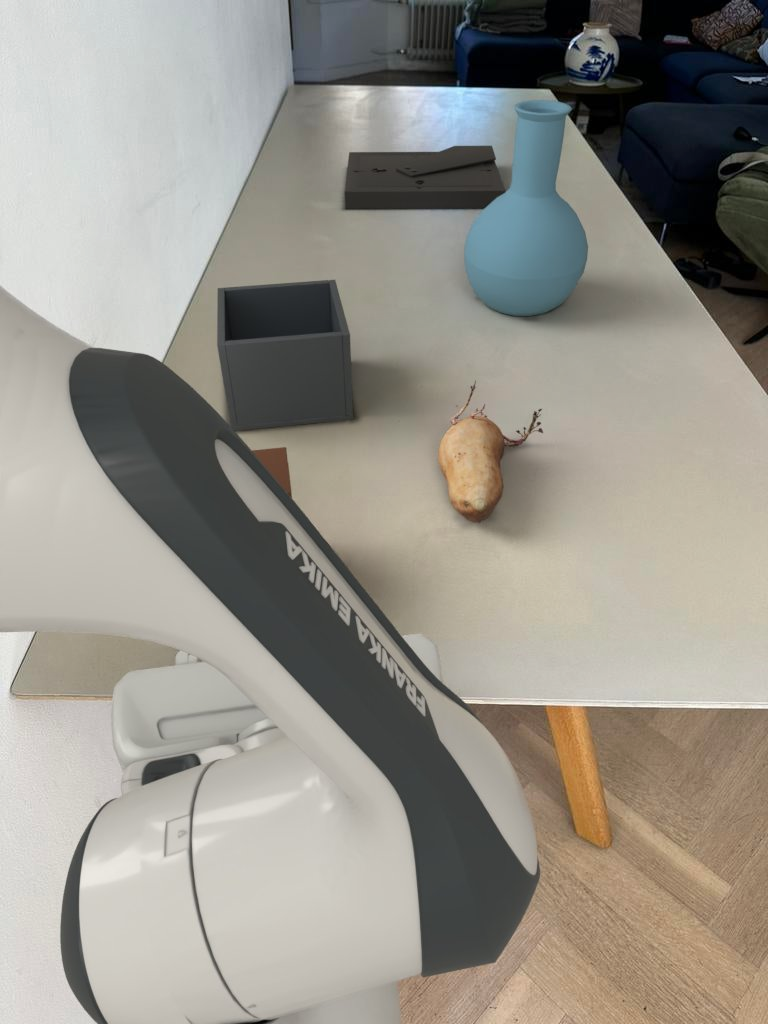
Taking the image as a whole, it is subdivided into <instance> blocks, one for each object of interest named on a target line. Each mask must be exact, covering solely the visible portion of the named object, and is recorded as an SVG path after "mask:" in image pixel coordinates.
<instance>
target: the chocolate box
mask: <svg viewBox="0 0 768 1024" xmlns="http://www.w3.org/2000/svg"><path fill="white" fill-rule="evenodd" d="M251 450H252V449H251ZM252 452H253V453H254V454H255V455H256V456H257V457H258V459H259V460H260V461H261V462H262V463H263V464H264V466H265V467H266V468H267V469H268V470H269V471H270V473H271V474H272V475H273V476H274V477H275V479H276V480H277V481H278V482H279V483H280V485H281V486H282V487H283V488H284V489H285V491H286V492H287V493H288V494H289V495H290V497H291V498H292V499H293V493H292V492H293V491H292V484H291V475H290V466H289V460H288V451H287V447H286V446H284V447H282V446H281V447H274V448H264V449H263V448H262V449H253V450H252Z"/></svg>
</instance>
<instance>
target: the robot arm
mask: <svg viewBox="0 0 768 1024" xmlns="http://www.w3.org/2000/svg"><path fill="white" fill-rule="evenodd" d="M26 632H27V633H30V632H31V633H32V632H34V633H36V632H39V633H40V632H41V633H71V634H73V633H74V634H93V635H105V636H113V637H122V638H123V637H124V638H130V639H135V640H139V641H145V642H150V643H155V644H158V645H161V646H165V647H168V648H172V649H175V650H178V651H177V652H176V655H175V660H174V661H175V662H174V665H167V666H159V667H152V668H144V669H135V670H131V671H128V672H127V673H126V674H125V675H123V677H122V678H120V680H119V681H118V682H117V683H116V684H115V685H114V687H113V692H112V696H111V697H112V698H111V713H110V715H111V718H110V719H111V721H110V722H111V723H110V724H111V725H110V726H111V737H112V738H111V740H112V746H113V751H114V754H115V756H116V758H117V761H118V763H119V766H120V768H121V771H122V777H121V782H120V793H121V796H119V797H115V798H112V799H109V800H108V801H106V802H105V803H104V804H103V805H102V806H101V807H100V808H98V810H97V811H96V813H95V814H94V815H93V817H92V819H90V821H89V822H88V824H87V826H86V827H85V829H84V831H83V833H82V835H81V836H80V839H79V841H78V843H77V845H76V847H75V850H74V852H73V855H72V858H71V861H70V864H69V867H68V871H67V875H66V879H65V885H64V889H63V894H62V902H61V913H60V927H59V928H60V929H59V930H60V931H59V932H60V933H59V937H60V938H59V939H60V941H59V942H60V955H61V962H62V966H63V971H64V975H65V979H66V981H67V983H68V987H69V988H70V991H72V993H73V995H74V997H75V998H76V1000H77V1001H78V1003H79V1004H80V1005H81V1007H82V1009H83V1010H84V1011H85V1012H86V1013H87V1015H88V1016H89V1017H90V1018H91V1019H92V1020H93V1021H94V1022H95V1023H96V1024H403V1022H402V1011H401V998H400V997H401V996H400V986H399V981H402V980H406V979H409V978H412V977H415V976H418V975H420V976H421V977H422V978H423V979H424V978H428V977H432V976H438V975H442V974H447V973H452V972H457V971H462V970H466V969H471V968H476V967H480V966H486V965H491V964H495V963H496V962H497V961H498V959H499V958H500V956H501V955H502V953H503V952H504V951H505V949H506V947H507V946H508V944H509V942H510V941H511V939H512V937H513V936H514V934H515V933H516V931H517V929H518V927H519V926H520V925H521V922H522V920H523V918H524V917H525V915H526V912H527V910H528V908H529V906H530V904H531V902H532V899H533V896H534V894H535V893H536V889H537V887H538V885H539V882H540V879H541V867H540V862H539V857H538V856H539V855H538V843H537V841H538V840H537V835H536V829H535V828H536V827H535V824H534V818H533V816H532V812H531V809H530V805H529V802H528V799H527V796H526V793H525V791H524V788H523V785H522V784H521V780H520V778H519V776H518V774H517V771H516V770H515V768H514V766H513V764H512V762H511V760H510V759H509V757H508V755H507V753H506V752H505V750H504V749H503V747H502V746H501V745H500V743H499V742H498V741H497V739H496V738H495V736H494V735H493V734H492V733H491V732H490V731H489V730H488V729H487V727H486V726H485V725H484V724H483V723H482V721H481V720H480V718H479V716H478V715H477V714H476V713H475V711H473V709H472V708H471V707H470V706H469V705H468V704H467V703H466V702H465V701H464V700H463V699H462V698H460V697H459V696H458V694H456V693H455V692H453V690H451V689H450V688H449V687H448V686H446V684H444V677H443V669H442V662H441V656H440V652H439V647H438V645H437V643H436V642H435V641H434V640H432V639H431V638H429V637H428V636H426V635H425V634H424V633H410V634H402V635H401V633H400V632H399V631H398V630H397V628H396V627H395V626H394V625H393V623H392V622H391V621H390V619H389V618H388V617H387V615H385V613H384V612H383V610H382V609H381V608H380V607H379V606H378V604H377V603H376V601H375V600H374V599H373V598H372V596H371V595H370V594H369V593H368V591H367V590H366V589H365V587H363V585H362V584H361V583H360V581H359V580H358V578H356V577H355V575H354V574H353V573H352V572H351V570H350V569H349V568H348V566H347V565H346V564H345V563H344V561H343V560H342V559H341V558H340V556H339V555H338V554H337V553H336V551H335V550H334V549H333V547H332V546H331V545H330V543H328V541H327V540H326V539H325V537H324V536H323V535H322V533H321V532H319V530H318V529H317V528H316V526H315V525H314V524H313V523H312V521H311V520H310V519H309V518H308V516H307V515H306V513H305V512H304V511H303V510H302V509H301V507H300V506H299V505H298V504H297V503H296V501H295V500H294V499H293V497H292V498H291V497H290V495H289V494H288V493H287V492H286V491H285V489H284V488H283V487H282V486H281V485H280V483H279V482H278V481H277V480H276V479H275V477H274V476H273V475H272V474H271V473H270V471H269V470H268V469H267V468H266V467H265V466H264V464H263V463H262V462H261V461H260V460H259V459H258V457H257V456H256V455H255V454H254V453H253V452H252V449H251V448H250V447H249V445H247V443H246V442H245V441H244V440H243V439H242V438H241V436H240V435H239V434H238V433H237V431H234V430H233V429H232V428H231V426H230V423H228V422H227V421H226V420H225V418H223V416H222V415H221V414H220V413H219V412H218V411H217V410H216V409H215V408H214V407H213V406H212V405H211V404H210V403H209V402H208V401H207V400H206V399H205V398H204V397H203V396H202V395H201V394H200V393H199V392H197V390H195V388H193V386H191V385H190V384H189V383H188V382H187V381H185V380H184V379H183V378H182V377H181V376H180V375H178V374H177V373H176V372H175V371H173V370H172V369H171V368H170V366H167V365H166V364H165V363H164V362H162V361H161V360H159V359H158V358H156V357H154V356H152V355H149V354H146V353H141V352H135V351H134V352H133V351H126V350H119V349H111V348H103V347H95V346H93V345H92V344H89V343H87V342H85V341H84V340H81V339H80V338H78V337H76V336H74V335H73V334H71V333H69V332H68V331H65V330H63V329H62V328H60V327H59V326H57V325H55V324H53V323H52V322H51V321H49V320H47V318H45V317H44V316H42V315H40V314H38V313H37V312H35V311H34V310H33V309H31V308H30V307H28V306H27V305H26V304H25V303H23V302H22V301H21V300H19V299H18V298H17V297H16V296H14V295H13V294H12V293H10V292H9V291H7V290H6V288H4V287H3V286H2V285H1V284H0V633H26Z"/></svg>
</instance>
